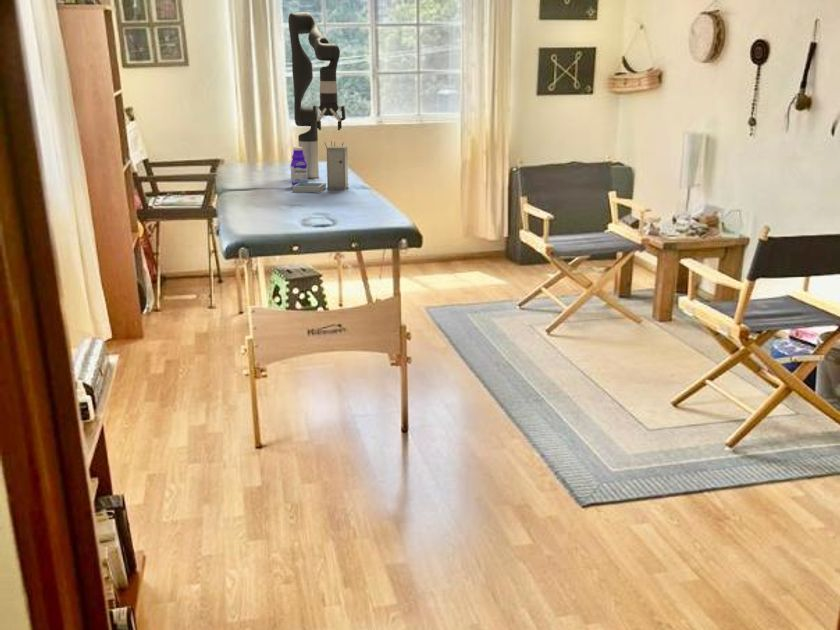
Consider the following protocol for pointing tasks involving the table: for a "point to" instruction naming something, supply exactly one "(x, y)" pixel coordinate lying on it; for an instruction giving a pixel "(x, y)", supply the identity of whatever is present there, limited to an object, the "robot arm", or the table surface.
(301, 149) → the bottle
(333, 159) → the grey slotted box
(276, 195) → the table surface
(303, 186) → the tray
